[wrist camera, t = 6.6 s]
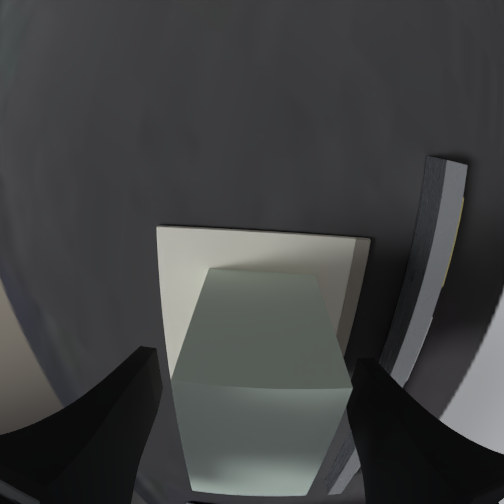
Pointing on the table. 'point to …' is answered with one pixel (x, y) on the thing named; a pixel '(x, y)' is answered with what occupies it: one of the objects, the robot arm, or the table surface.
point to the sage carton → (258, 384)
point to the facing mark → (255, 259)
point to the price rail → (416, 288)
